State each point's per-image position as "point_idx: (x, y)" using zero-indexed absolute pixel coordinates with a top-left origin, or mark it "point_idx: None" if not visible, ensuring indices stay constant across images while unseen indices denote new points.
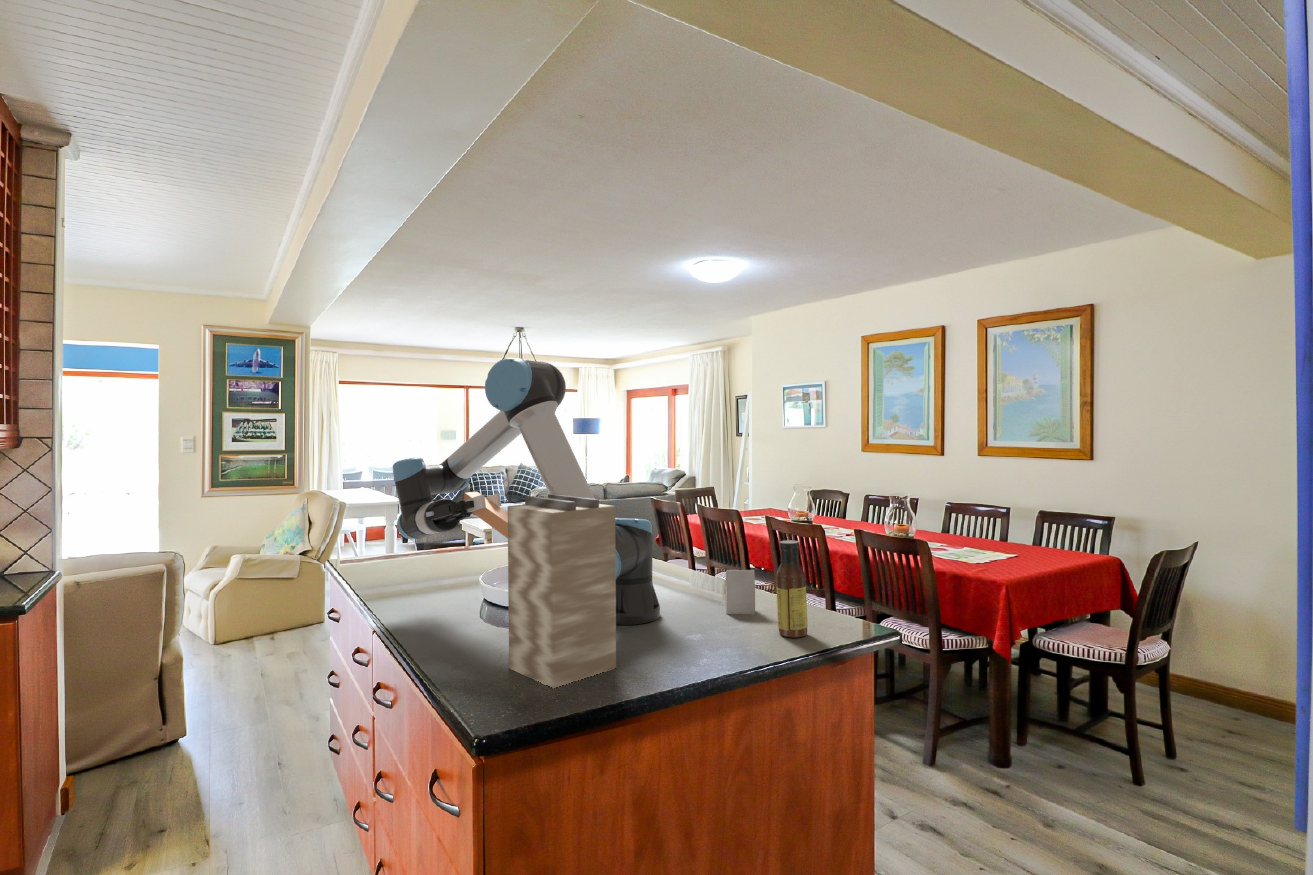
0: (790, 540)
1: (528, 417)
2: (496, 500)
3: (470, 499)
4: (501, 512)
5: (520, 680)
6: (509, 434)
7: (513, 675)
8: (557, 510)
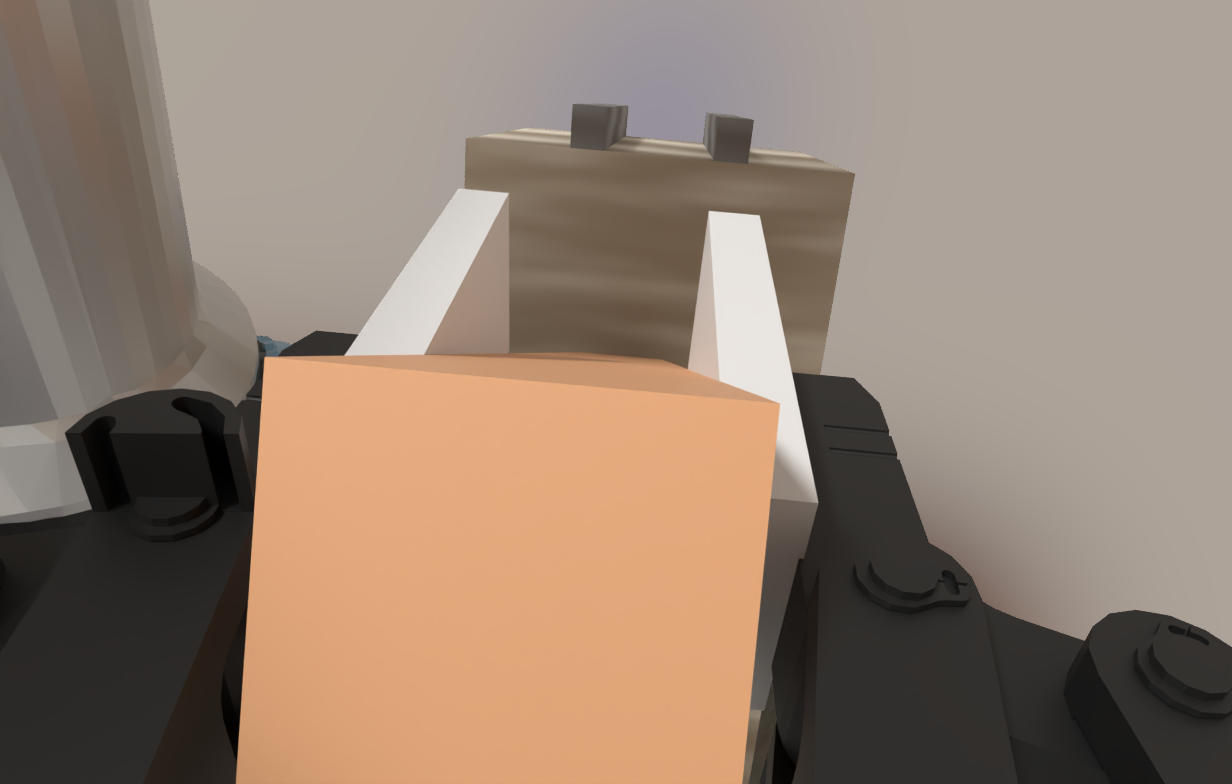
0: None
1: None
2: (503, 291)
3: (789, 392)
4: (591, 358)
5: (766, 728)
6: None
7: (763, 768)
8: (751, 149)
